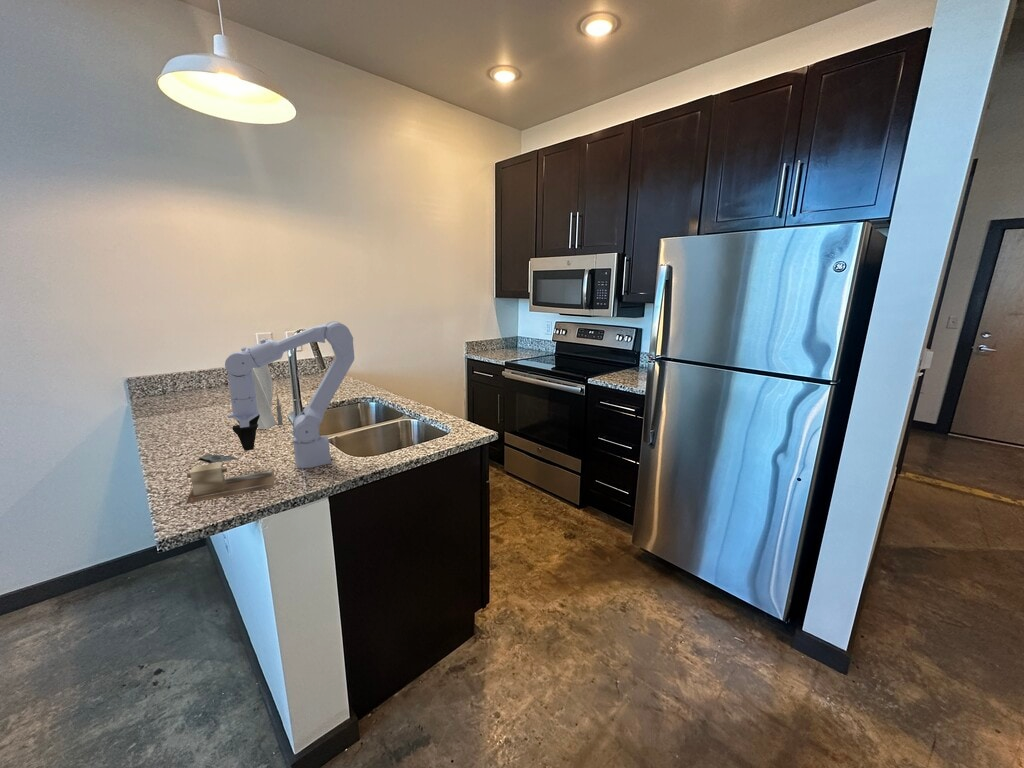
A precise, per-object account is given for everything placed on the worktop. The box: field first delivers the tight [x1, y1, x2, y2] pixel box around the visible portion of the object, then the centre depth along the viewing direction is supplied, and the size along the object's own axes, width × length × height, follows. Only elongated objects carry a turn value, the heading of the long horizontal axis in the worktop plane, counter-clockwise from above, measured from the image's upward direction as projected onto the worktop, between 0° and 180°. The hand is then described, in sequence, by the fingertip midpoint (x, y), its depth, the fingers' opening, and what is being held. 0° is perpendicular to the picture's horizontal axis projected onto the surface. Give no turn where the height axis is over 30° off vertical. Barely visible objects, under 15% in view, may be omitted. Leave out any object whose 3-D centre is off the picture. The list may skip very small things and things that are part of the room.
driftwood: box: [198, 453, 239, 464], centre depth 124 cm, size 21×7×2 cm, turn 60°
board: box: [185, 469, 275, 505], centre depth 106 cm, size 18×12×2 cm, turn 119°
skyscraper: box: [251, 364, 284, 429], centre depth 153 cm, size 8×8×28 cm
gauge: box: [186, 461, 228, 495], centre depth 103 cm, size 8×4×6 cm, turn 119°
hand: (249, 445), depth 112 cm, fingers open, 7 cm apart
